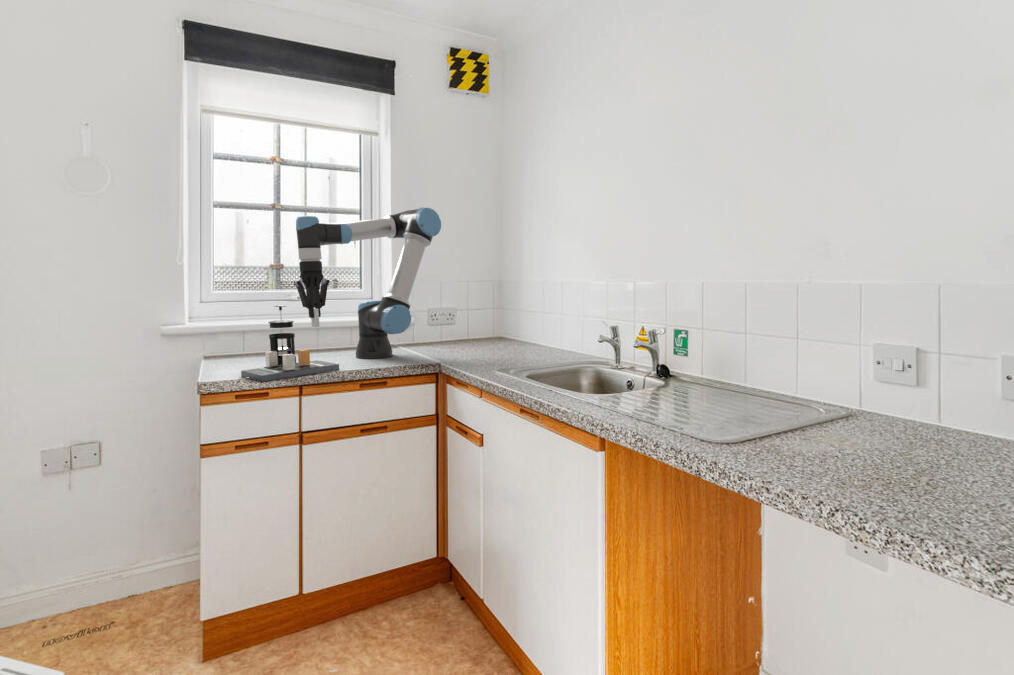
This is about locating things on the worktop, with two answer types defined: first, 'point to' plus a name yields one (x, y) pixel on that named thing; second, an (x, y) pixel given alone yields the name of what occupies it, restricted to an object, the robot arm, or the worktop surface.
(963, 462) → the worktop surface
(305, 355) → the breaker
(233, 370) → the worktop surface
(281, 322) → the french press
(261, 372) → the panel
